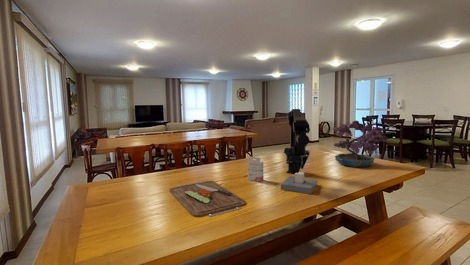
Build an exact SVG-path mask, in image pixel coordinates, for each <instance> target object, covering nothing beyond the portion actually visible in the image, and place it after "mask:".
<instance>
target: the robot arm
mask: <svg viewBox="0 0 470 265" xmlns="http://www.w3.org/2000/svg"><path fill="white" fill-rule="evenodd" d="M302 113H303V112H301V109H300V108H292V109H291V110H290V111H288V112H287V116H286V120H287V122H288V124H289V126H290V128H289V129H290V131H289V132H290V134H289V135H290V136H289V137H290V138H289V147H285V148H284V149H283V153H284V154H285V163H286V165H287V171H286V173H288V174H294V175H295V173H299V172H301V171H300V169H301V170H303V169H304V167H305V165H306V163H307V161H308V159H309V158H310V157H309V156H310V153H311V152H310V151H309V149H306V147H307V145H309V143H310V138H309V136H307V134H309V133H310V131H311V128H310V123H309V122H308V120H307V118H305V117H303V116H302V115H303V114H302Z"/></svg>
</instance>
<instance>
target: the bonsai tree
mask: <svg viewBox="0 0 470 265" xmlns="http://www.w3.org/2000/svg"><path fill="white" fill-rule="evenodd" d="M351 129H354V130H355V131H360V132H361V133H362V135H359V136H358V137H355V138H354V139H352V140H350V138H351V137H352V136H353V134H352V130H351ZM333 130H335V131H336V132H337V133H336V135H337V137H340V138H341V137H342V136H344V135H345V134H348V136H349V137H350V138H346V139H345V140H339V141H338V142H336V143H333V147H335V148H336V147H337V148H338V149H339V148H341V149H345V150H347V151H348V152H349V153H339V154H336V155H335V156H334V157H335V161H336V162H338V164H340V165H341V166H345V167H351V168H368V167H370V166H371V165H372V164H373V163H374V162H375V159H376V158H375V157H372V156H369V155H373V154H374V153H375V151H376V150H377V149H379V148H380V146H379V144H377V143H376V144H375V143H373V142H384V143H385V142H387V141H388V137H387V136H383V134H384V133H385V132H384V128H383V127H380V126H376V127H373V128H372V125H371V124H366V125H364V123H360V121H359V120H353V121H351V122H350V123H347V124H345V123H343V124H342V125H340V126H339V127H338V126H334V127H333ZM381 135H382V136H381ZM360 149H364V150H365V151H367V154H369V155H367V154H360V152H361V151H360Z"/></svg>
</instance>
